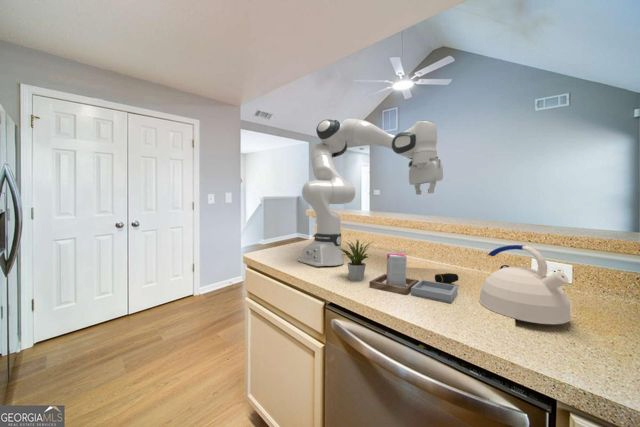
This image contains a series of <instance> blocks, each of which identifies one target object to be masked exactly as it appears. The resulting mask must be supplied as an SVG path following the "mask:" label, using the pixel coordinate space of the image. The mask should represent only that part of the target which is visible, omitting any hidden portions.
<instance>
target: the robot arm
mask: <svg viewBox="0 0 640 427" xmlns="http://www.w3.org/2000/svg"><path fill="white" fill-rule="evenodd" d="M315 129H316V135H317V137H318V138H319V139H320V141H321V142H320V143H317V144H315V145H313V146H312V148H311V152H310V159H311V167H312V172H313V176H314V177H315V179H316V180H310V181H309V180H308V181H306V182H305V183H304V185H303V186H302V189H301V190H302V191H301V195H302V198H303V200H304V201H305V202H306V203H308V205H309V206H310V207H312V210H313V211H314V213H315V217H316V233H314V234H313V235H312V238H314V239H313V241H312V242H311V243H309V244H308V245H307V246H305V247H304V249H303V251H302V257H299V258H298V259H297V262H299V261H300V262H299V263H302V264H303V263H304V264H307V265H311V266H314V267H324V266H326V267H327V266H329V267H331V266H332V267H333V266H340V265H344V260H343V255H342V254H343V253H342V250H340V249H339V248H342V233H341V216H340V215H339V214H338V213H336V212H335V211H334V210H333V211H332V210H331V208H330V205H344V204H349V203H352V201H353V200H354V199H355V198H356V188H355V186H354V185H353V184H352V183H350V182H349V181H347V180H346V179H345V178H343V177H342V176H341V175H340V174H339V171H337V169H336V165H335V163H334V158H336V157H340V156H342V155H344V154H345V152H346V151H347V149H348V142H347V141H351V142H353V143H357V144H360V145H369V146H377V147H384V148H388V149H391V150H392V151H393V152H394V153H395V154H397V155H399V156H402V157H405V158H407V159H408V160H410V161H409V162H408V165H407V168H409V169H408V182H409V185H411V186H412V185H413V187H414V190H415V195H417V196H418V195H422V190H421V188H420V187H421V185H423V184H429V187H428V189H427V193H428V194H434V193H435V188H436V185H437V182H441V181H443V178H444V170H443V168H444V167H443V164H442V159H441V158H440V157H439V156H438V151H437V143H438V133H437V125H436V124H435V123H434V122H433V121H430V120H425V119H424V120H418V121H416V122H415V124H414V125H413V126H411V127H410V128H408V129H406V130H405V131H402V132H398V133H397V134H396V135H394V134H390V133H388V132H386V131H384V130H383V129H382V128H380V127H378V126H377V125H375V124H373V123H371V122H369V121H367V120H363V119H358V118H345V119H344V120H343V121H342V122H341V123H340V121H338V120H337V119H335V120H333V119H324V120H321V121H320V122H319V123H318V124H317V126H316V128H315Z"/></svg>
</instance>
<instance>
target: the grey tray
mask: <svg viewBox="0 0 640 427" xmlns="http://www.w3.org/2000/svg"><path fill="white" fill-rule="evenodd" d="M458 289H459V288H458V285H456V284H451V283H448V284H444V283H438V282H436V281H432V280H431V281H430V280H425V279H420V280H419V282H418V283H416V284H415V285H414V286H412V287H411V292H410V296H413V297H418V298H422V299H426V300H432V301H437V302H442V303H447V304H452V302H453V301H454V300H455V298H456V296H457V294H458Z"/></svg>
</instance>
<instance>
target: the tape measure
mask: <svg viewBox="0 0 640 427" xmlns="http://www.w3.org/2000/svg"><path fill="white" fill-rule="evenodd" d="M458 281H459V276H458V274H456V273H450V272H449V273H437V274H435V275H434V282H438V283H444V284H452V283H455V282H458Z"/></svg>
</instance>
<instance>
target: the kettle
mask: <svg viewBox="0 0 640 427" xmlns="http://www.w3.org/2000/svg"><path fill="white" fill-rule="evenodd" d="M510 250H511V251H512V250H520V251H526V252H528V253H530V254H531V255H532V256H533V257H534V259H535V261H536V263H537V270H536V269H533V268H530V267H525V266H509V265H508V264H507V265H506V264H503V265H501V266H500V267H499V269H498V270H496V271H494V272H492V273H491V274H489V276H488V277H486V278H485V280H484V281H483V283H482V285H481V289H480V296H479V300H478V301H479V302H480V304H481V305H482V306H483V307H484V308H486V309H488V310H490V311H492V312H494V313H496V314H499V315H502V316H505V317H509V318H511V319H514V320H517V321H522V322H523V321H524V322H528V323H533V324H539V325H540V324H541V325H563V324H565V323H568V322H570V321H571V320H572V316H571V306H570V305H571V304H570V300H569V298H568V297H567V295H566V293H565V291H564V289H562V286H564V285H567V284H569V281H570V280H569V278H568V276H567V275H566V274H565V273H563V272H561V271H557V270H556V271H554V273H552V274H550V275H547V273H548V263H547V261H546V259H545V258H544V256H543V255H542V253H541V252H540V251H538V250H537V249H535V248H533V247H530V246H527V245H523V244H510V245H509V244H508V245H505V246H500V247H498V248H495V249H493V250H491V251H490V252H489V253H488V254H487V255H488V256H490V257H495V256H497V255H498V254H500V253H502V252H506V251H510Z"/></svg>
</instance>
